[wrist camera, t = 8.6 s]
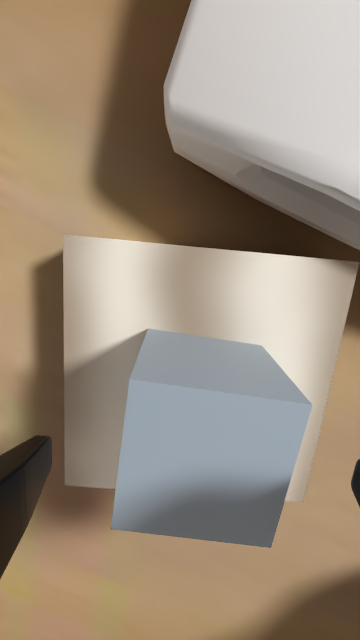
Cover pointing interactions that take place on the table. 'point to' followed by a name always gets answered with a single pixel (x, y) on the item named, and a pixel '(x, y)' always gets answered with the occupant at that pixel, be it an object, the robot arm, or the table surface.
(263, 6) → the document scanner
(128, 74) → the table surface
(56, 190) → the table surface
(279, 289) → the cream block
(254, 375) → the grey cube
